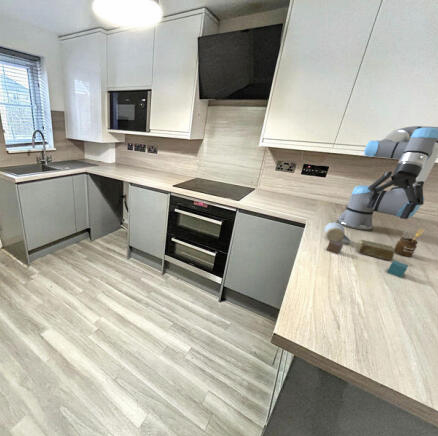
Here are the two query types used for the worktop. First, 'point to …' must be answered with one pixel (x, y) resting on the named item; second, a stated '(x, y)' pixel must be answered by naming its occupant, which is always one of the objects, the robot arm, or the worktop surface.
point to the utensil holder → (407, 245)
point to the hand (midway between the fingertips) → (386, 212)
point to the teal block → (397, 268)
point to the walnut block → (334, 246)
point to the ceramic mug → (336, 232)
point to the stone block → (376, 249)
